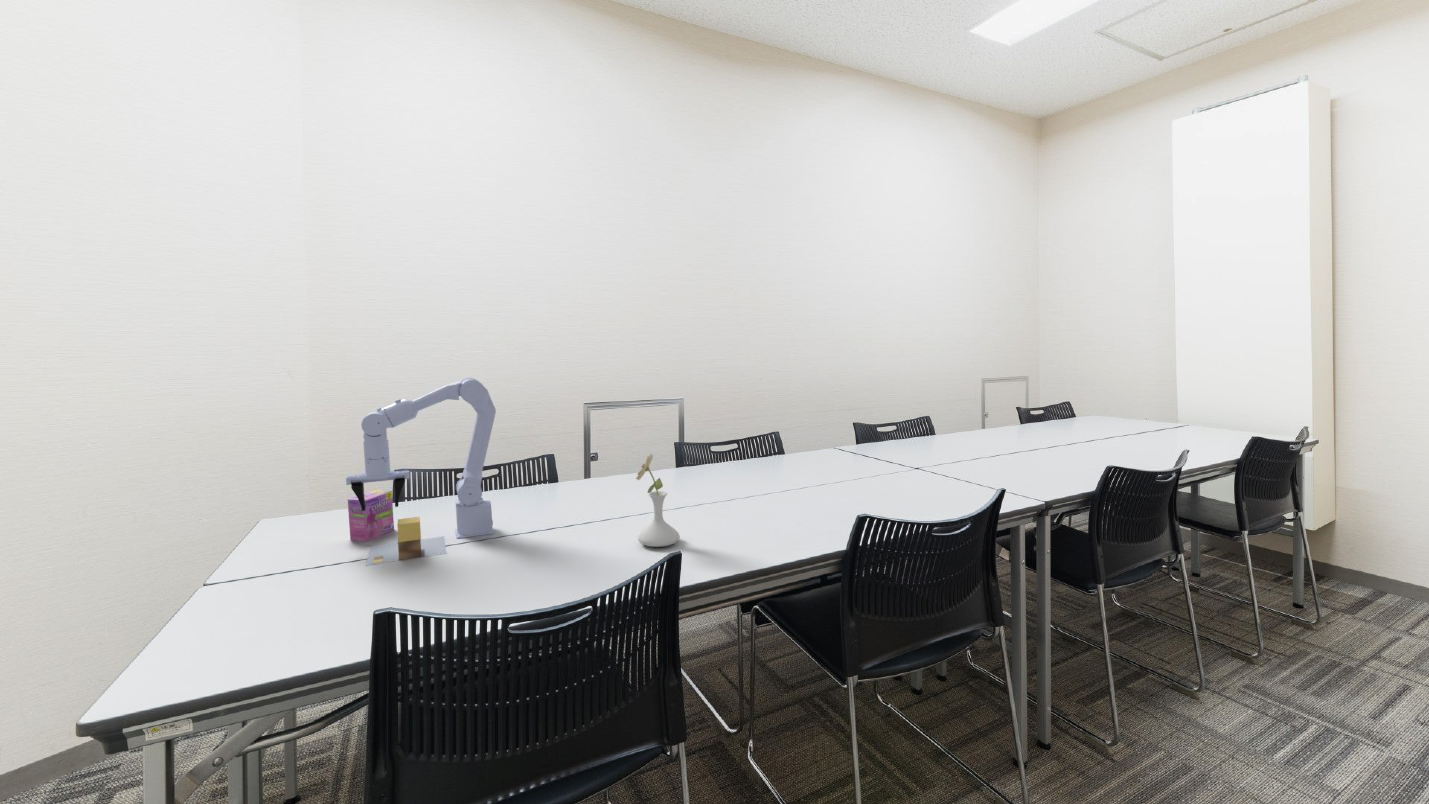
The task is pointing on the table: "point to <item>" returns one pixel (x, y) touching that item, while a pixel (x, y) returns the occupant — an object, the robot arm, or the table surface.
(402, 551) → the walnut block
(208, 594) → the table surface
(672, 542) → the flower in vase
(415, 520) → the mustard block
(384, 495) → the box
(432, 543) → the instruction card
